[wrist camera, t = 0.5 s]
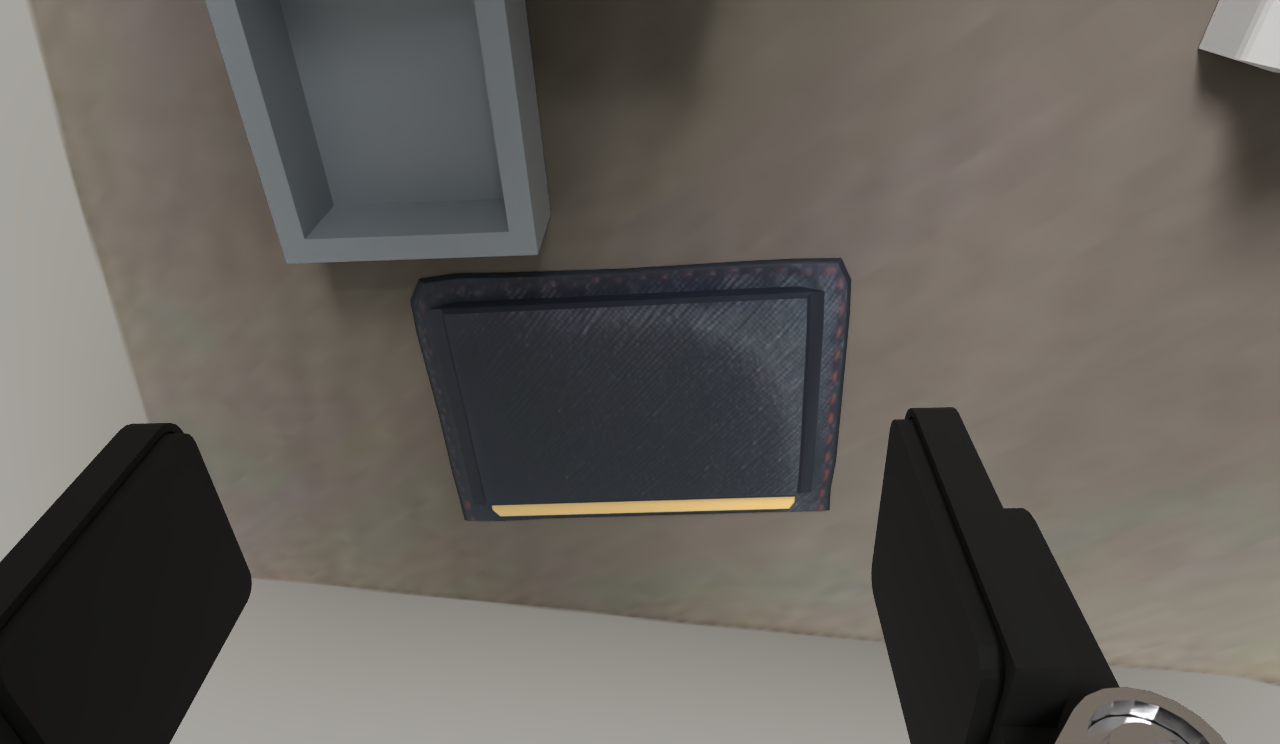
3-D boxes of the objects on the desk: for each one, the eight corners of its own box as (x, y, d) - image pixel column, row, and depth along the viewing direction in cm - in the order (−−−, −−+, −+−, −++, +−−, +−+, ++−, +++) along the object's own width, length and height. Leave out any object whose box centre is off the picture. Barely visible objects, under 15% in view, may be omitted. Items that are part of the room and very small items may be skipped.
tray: (235, -91, 31) (181, -78, 27) (512, -108, 30) (491, -97, 27) (321, 222, 37) (286, 263, 34) (550, 214, 37) (537, 254, 33)
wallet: (863, 270, 36) (832, 535, 44) (855, 251, 38) (827, 510, 46) (395, 279, 37) (451, 536, 45) (407, 260, 39) (459, 511, 47)
